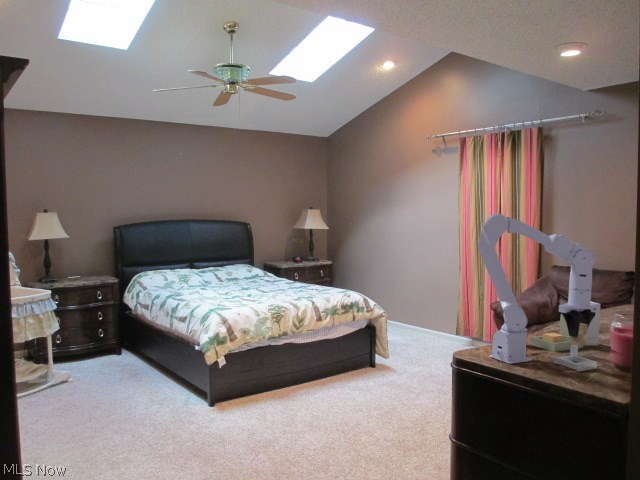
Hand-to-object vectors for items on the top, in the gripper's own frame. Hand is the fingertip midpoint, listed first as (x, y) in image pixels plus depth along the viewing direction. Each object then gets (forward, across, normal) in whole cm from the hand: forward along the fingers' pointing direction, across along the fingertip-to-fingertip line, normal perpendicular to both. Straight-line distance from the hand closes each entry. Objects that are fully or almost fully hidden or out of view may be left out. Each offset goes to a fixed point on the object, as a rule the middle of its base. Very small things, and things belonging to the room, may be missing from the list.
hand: (577, 336), depth 143 cm
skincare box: (+9, +27, +17) cm, 33 cm away
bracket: (+9, 0, 0) cm, 9 cm away
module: (+8, +12, +17) cm, 22 cm away
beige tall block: (+2, 0, 0) cm, 2 cm away
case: (+9, +14, +17) cm, 24 cm away
